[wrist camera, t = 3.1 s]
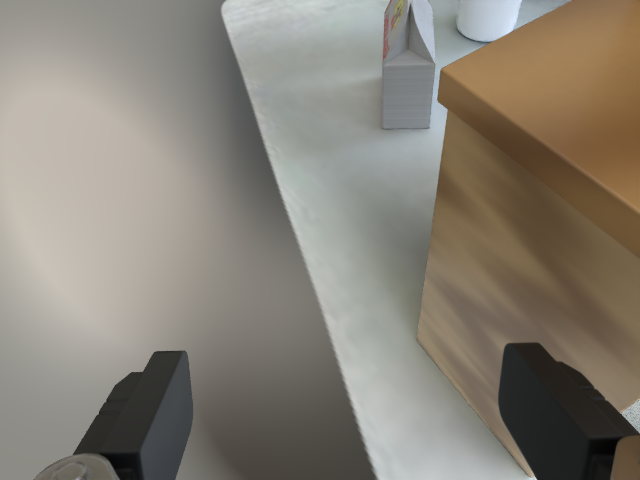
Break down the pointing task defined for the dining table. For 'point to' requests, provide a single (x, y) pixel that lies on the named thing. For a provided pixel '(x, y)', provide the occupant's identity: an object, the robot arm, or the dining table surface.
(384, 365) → the dining table surface
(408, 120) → the milk carton
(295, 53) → the dining table surface
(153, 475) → the robot arm
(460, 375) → the step stand
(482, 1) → the drinking glass
